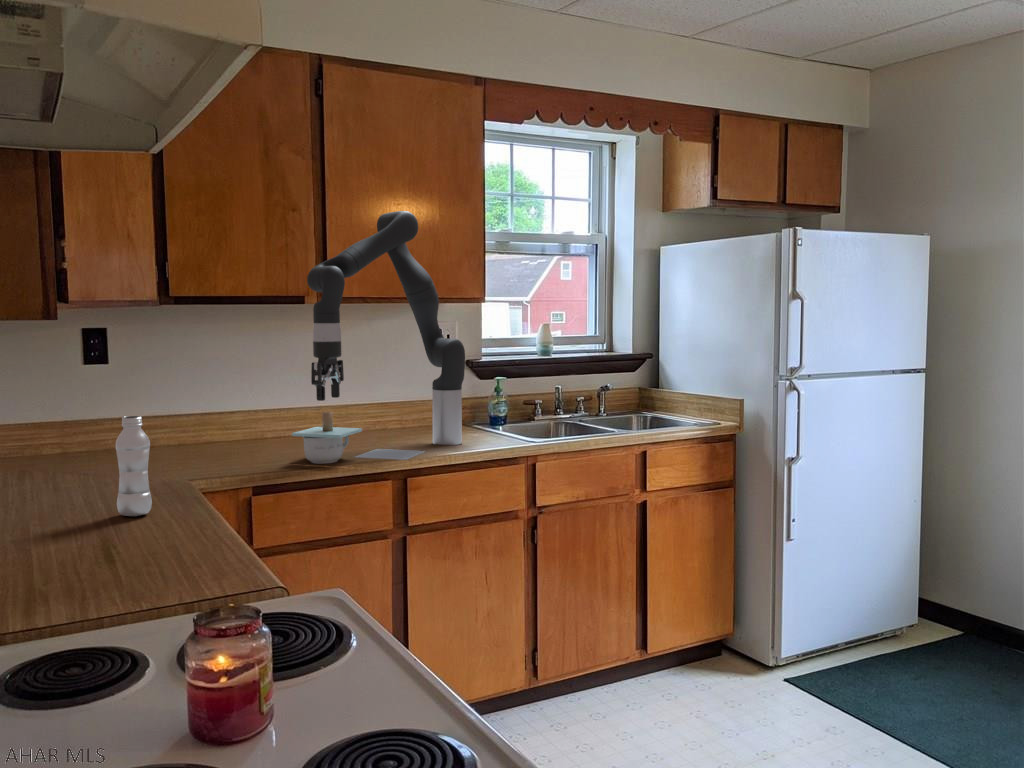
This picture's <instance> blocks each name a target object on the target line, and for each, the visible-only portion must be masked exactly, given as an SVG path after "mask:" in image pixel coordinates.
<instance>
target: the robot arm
mask: <svg viewBox="0 0 1024 768" xmlns="http://www.w3.org/2000/svg"><path fill="white" fill-rule="evenodd" d="M418 221H419V220H418V219H417V218H416V216H415V214H413V213H412V212H410V211H407V210H398V211H392V212H386V213H383V214H381V215H379V217H378V218H377V222H376V230H377V232H376V233H374V234H373V235H370V236H368V237H366V238H363V239H361V240H359V241H356V242H355V243H353V244H352V245H350V246H348V247H347V248H345V249H343V251H341V252H340V253H338V254H337V255H335V256H334V257H331V258H329V259H327V260H325V261H323V262H321V263H319V264H317V265H315V266H313V268H311V269H310V270H309V272H308V275H307V278H306V279H307V280H306V282H307V286H308V287H309V288H310V290H312V291H313V292H316V293H322V295H321V298H320V300H319V301H317V302H315V303H314V304H313V310H312V311H313V313H312V314H313V318H312V319H313V328H312V347H313V348H312V352H313V353H312V354H313V357H314V358H316V359H318V360H317V362H316V361H314V362H311V376H310V378H311V381H310V382H311V385H313V386H315V387H316V388H315V389H316V390H315V391H316V400H317V401H318V402H319V401H322V402H323V401H325V400H326V387H325V386H326V383H327V381H328V380H330V383H331V384H330V392H331V393H330V394H331V398H332V399H333V398H337V399H338V398H340V394H341V393H340V390H341V389H340V384H341V383H342V382H343V381H344V379H345V377H344V360H343V359H337V358H341V357H342V330H341V314H340V311H341V310H340V307H341V304H342V300H343V294H344V290H345V285H346V282H345V281H346V280H345V279H346V278H351V277H353V276H355V275H356V274H358V273H359V272H360V271H361V270H363V269H364V268H365V267H367V266H369V265H370V264H371V263H372V262H375V260H376V259H378V258H380V257H381V256H383V255H384V254H386V253H387V256H388V257H389V259H390V261H391V262H392V265H393V267H394V269H395V272H396V273H397V277H398V279H399V281H400V283H401V286H402V288H403V291H404V295H405V297H406V299H407V302H408V305H409V307H410V309H411V311H412V314H413V317H414V319H415V321H416V324H417V326H418V329H419V333H420V336H421V339H422V343H423V347H424V350H425V353H426V357H427V359H428V361H429V363H430V364H431V365H433V366H434V367H436V368H437V367H438V368H441V373H440V375H439V376H438V377H437V378H435V379H434V380H433V381H432V383H431V385H432V387H431V388H432V390H431V391H432V392H431V393H432V398H431V399H432V444H433V445H440V446H441V445H443V446H452V445H453V446H455V445H456V446H457V445H462V443H463V441H462V440H463V439H462V438H463V437H462V436H463V435H462V433H463V432H462V431H463V429H462V428H463V425H462V424H463V422H462V421H463V417H462V415H463V410H462V409H463V403H462V401H463V400H462V399H463V398H462V397H463V395H462V394H463V393H462V390H463V389H462V388H463V382H464V379H465V368H466V366H465V365H466V350H465V347H464V344H463V342H462V341H461V340H459V339H457V338H450V337H449V338H445V337H444V335H443V333H442V331H441V328H440V325H439V322H438V321H439V320H438V313H439V305H440V304H439V303H440V302H439V301H440V298H439V295H438V294H439V293H438V292H437V287H436V286H435V284H434V281H433V279H432V277H431V275H430V274H429V272H427V270H426V269H425V268H424V267H423V266H422V265H421V264H420V263H419V262H418V261H417V260H416V259H415V258H414V256H413V255H412V254H411V252H410V250H409V248H408V245H407V243H409V242H410V241H412V240H414V239H415V237H417V236H416V235H417V234H418V232H419V223H418Z"/></svg>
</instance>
